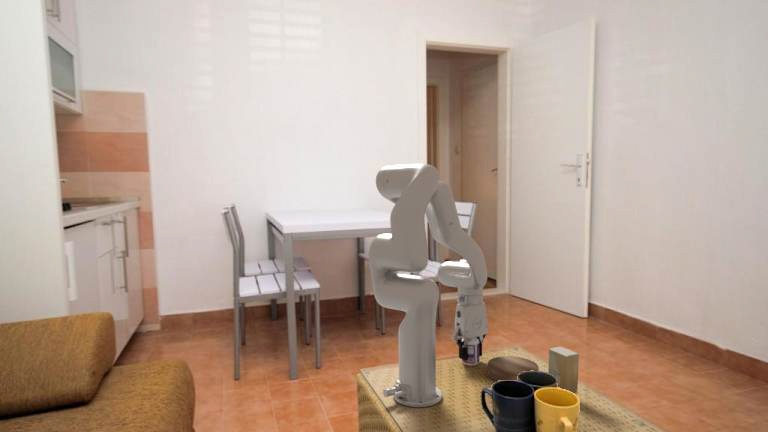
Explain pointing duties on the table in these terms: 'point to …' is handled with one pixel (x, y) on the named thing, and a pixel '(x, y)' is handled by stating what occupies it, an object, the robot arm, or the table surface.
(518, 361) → the walnut base
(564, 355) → the skincare box
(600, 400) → the table surface
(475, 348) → the pill bottle
